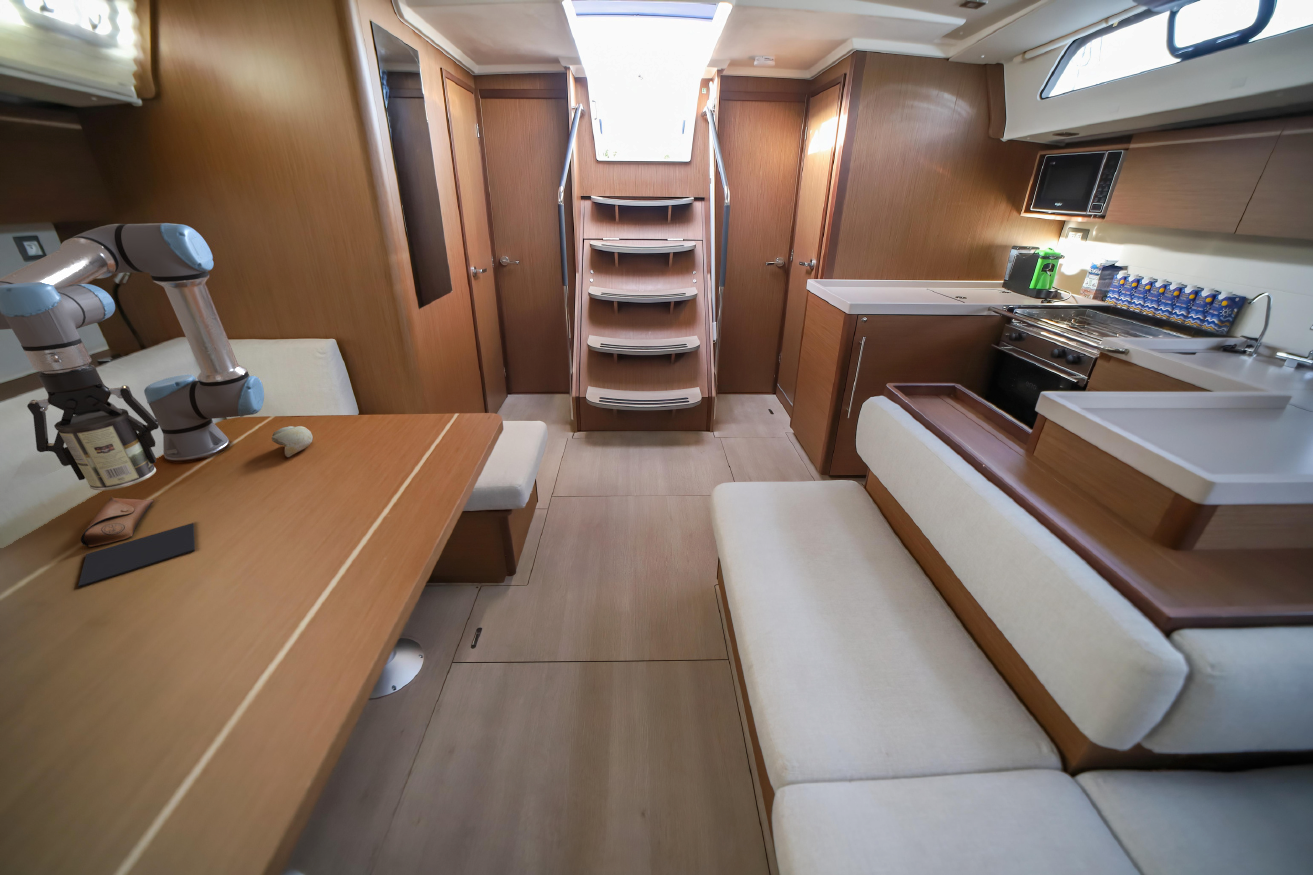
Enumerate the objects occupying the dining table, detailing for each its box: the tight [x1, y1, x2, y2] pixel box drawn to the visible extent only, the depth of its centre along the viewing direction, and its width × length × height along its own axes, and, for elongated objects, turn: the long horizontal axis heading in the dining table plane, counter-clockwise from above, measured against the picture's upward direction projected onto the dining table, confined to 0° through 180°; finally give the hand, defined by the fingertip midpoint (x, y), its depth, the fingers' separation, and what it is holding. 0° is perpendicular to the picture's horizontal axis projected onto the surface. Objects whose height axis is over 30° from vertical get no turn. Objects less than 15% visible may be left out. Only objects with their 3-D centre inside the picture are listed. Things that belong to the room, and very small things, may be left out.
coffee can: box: [54, 407, 157, 492], centre depth 103 cm, size 10×10×14 cm
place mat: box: [77, 522, 196, 588], centre depth 110 cm, size 13×18×1 cm
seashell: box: [271, 425, 314, 458], centre depth 154 cm, size 13×8×10 cm
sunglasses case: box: [80, 496, 154, 548], centre depth 119 cm, size 18×7×7 cm
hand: (119, 468), depth 105 cm, fingers closed on coffee can, 10 cm apart
